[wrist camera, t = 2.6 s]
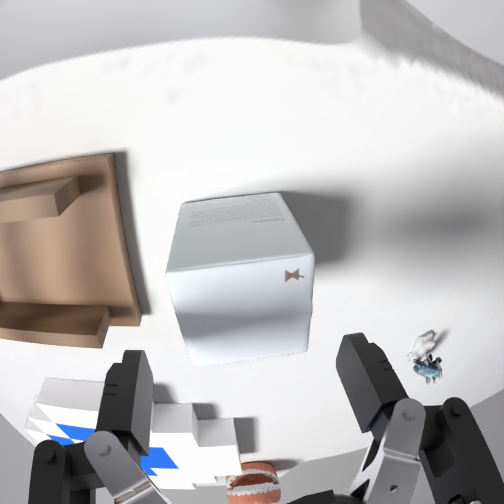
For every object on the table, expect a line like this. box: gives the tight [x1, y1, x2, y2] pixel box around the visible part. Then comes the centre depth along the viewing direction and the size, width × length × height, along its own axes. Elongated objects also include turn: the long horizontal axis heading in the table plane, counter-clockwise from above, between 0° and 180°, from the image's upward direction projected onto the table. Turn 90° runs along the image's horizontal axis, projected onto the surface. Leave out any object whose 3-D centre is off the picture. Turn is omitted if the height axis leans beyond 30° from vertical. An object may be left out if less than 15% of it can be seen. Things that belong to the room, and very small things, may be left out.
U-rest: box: [0, 153, 142, 348], centre depth 16 cm, size 16×12×4 cm
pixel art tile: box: [24, 377, 242, 489], centre depth 31 cm, size 28×4×28 cm
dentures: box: [226, 462, 281, 504], centre depth 37 cm, size 9×7×8 cm
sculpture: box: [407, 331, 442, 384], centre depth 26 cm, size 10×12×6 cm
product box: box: [165, 193, 315, 367], centre depth 16 cm, size 6×6×7 cm
